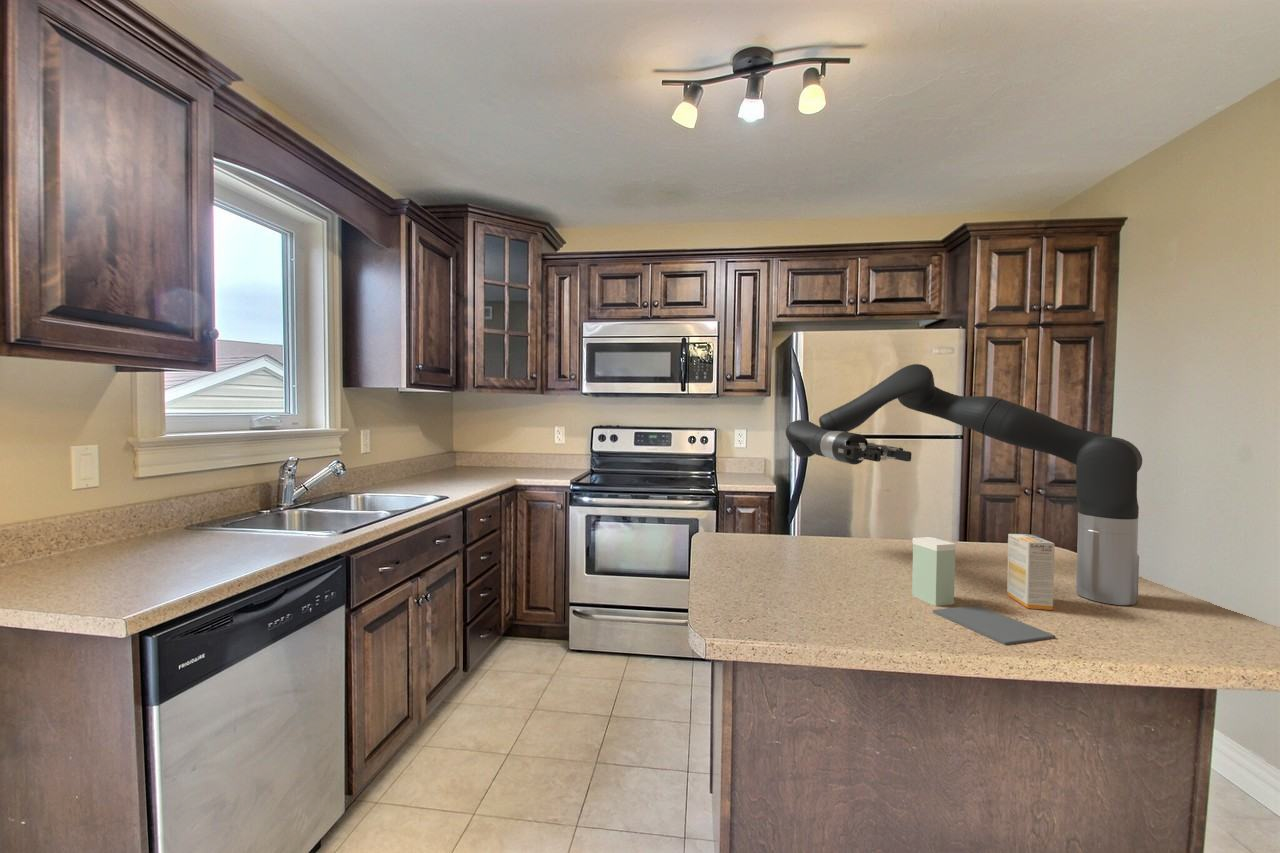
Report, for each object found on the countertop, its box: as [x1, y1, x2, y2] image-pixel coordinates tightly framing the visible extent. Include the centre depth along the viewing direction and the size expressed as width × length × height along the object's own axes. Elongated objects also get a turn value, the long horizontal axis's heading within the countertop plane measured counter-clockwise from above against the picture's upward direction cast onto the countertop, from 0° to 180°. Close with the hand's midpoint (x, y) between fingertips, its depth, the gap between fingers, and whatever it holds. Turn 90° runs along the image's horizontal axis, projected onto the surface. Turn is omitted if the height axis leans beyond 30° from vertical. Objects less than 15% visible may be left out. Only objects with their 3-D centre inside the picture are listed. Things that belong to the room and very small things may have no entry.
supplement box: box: [1006, 533, 1056, 611], centre depth 104 cm, size 8×5×13 cm, turn 168°
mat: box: [932, 604, 1056, 646], centre depth 93 cm, size 11×14×1 cm
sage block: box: [911, 536, 957, 607], centre depth 105 cm, size 5×6×12 cm
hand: (895, 456), depth 113 cm, fingers open, 8 cm apart
